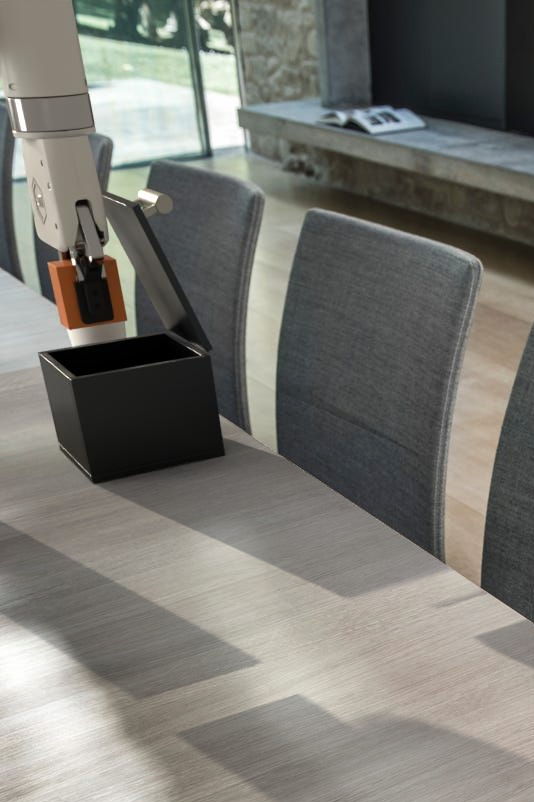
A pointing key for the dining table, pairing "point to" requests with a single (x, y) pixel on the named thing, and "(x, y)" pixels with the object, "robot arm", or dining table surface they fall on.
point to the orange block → (66, 293)
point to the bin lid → (153, 261)
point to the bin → (133, 404)
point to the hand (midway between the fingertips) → (92, 316)
